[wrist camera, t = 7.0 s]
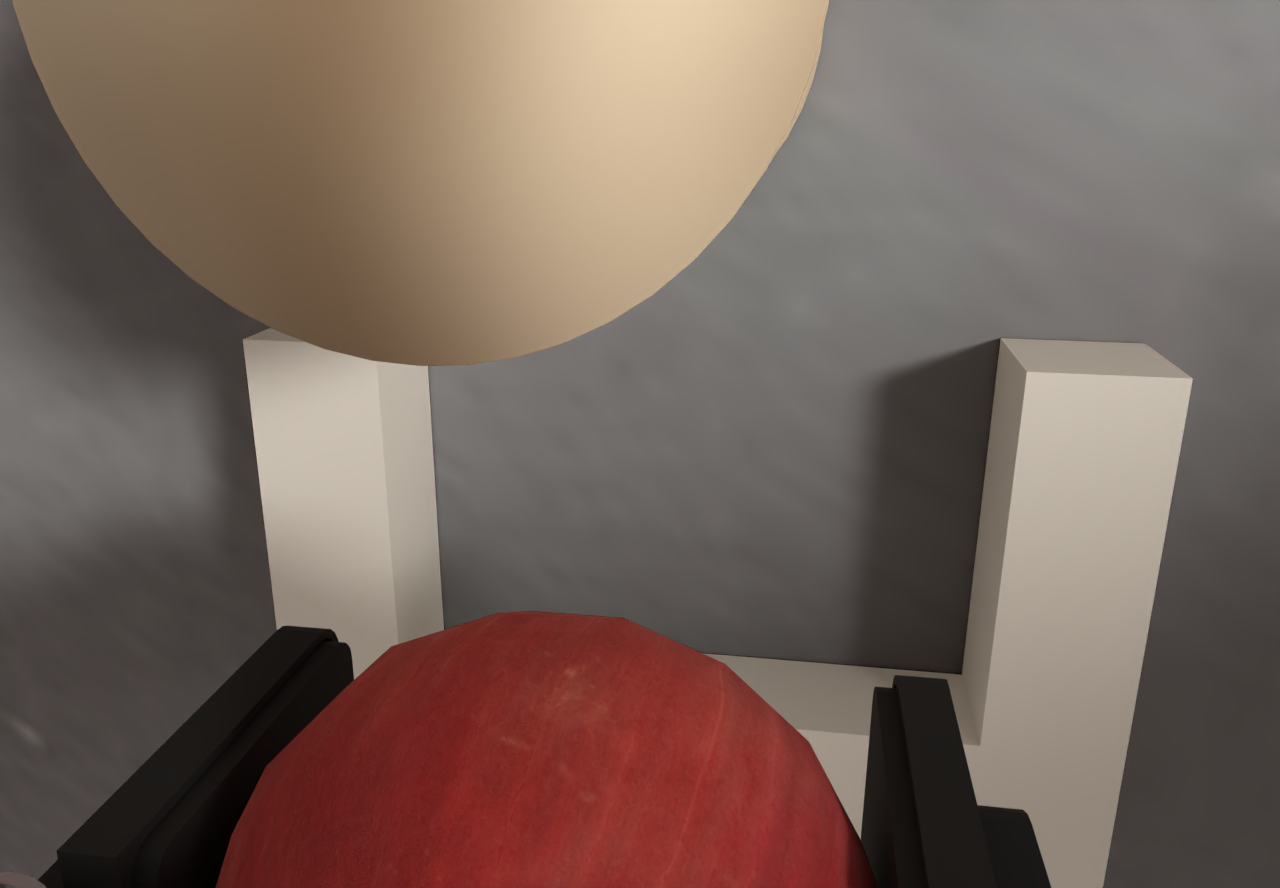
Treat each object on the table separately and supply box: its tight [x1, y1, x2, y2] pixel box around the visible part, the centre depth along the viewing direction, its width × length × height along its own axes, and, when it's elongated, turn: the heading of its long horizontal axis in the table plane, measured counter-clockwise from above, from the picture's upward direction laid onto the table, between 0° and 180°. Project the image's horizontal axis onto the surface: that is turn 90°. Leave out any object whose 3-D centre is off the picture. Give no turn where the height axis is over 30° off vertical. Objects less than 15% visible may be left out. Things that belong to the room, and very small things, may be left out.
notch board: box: [243, 328, 1193, 888], centre depth 20 cm, size 16×10×2 cm, turn 90°
